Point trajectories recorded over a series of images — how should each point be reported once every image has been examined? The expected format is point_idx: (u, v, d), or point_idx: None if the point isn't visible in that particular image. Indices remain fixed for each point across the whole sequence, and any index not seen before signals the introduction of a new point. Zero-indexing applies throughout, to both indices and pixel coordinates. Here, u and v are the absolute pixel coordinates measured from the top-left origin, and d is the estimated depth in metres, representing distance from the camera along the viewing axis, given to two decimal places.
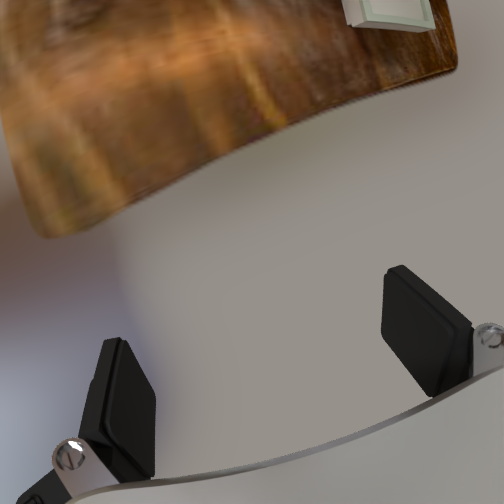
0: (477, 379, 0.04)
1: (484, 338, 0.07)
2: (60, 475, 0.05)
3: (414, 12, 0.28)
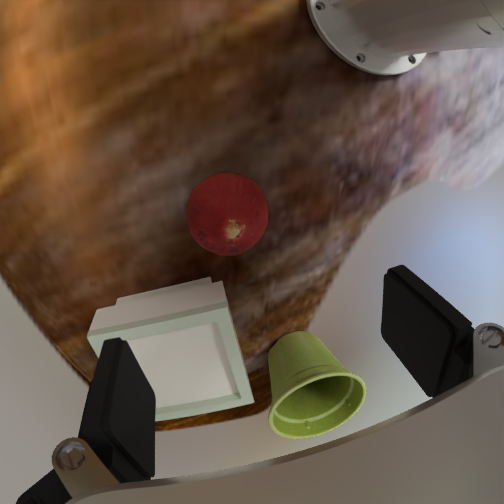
0: (477, 379, 0.04)
1: (484, 338, 0.07)
2: (60, 475, 0.05)
3: None
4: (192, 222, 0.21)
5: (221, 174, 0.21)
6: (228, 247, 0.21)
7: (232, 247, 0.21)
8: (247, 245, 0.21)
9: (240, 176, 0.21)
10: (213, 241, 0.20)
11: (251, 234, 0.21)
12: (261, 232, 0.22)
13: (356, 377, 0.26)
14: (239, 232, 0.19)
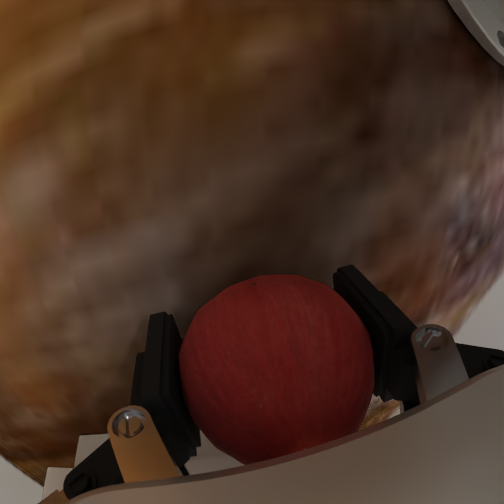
0: (477, 379, 0.04)
1: (424, 342, 0.07)
2: (119, 443, 0.06)
3: None
4: (198, 419, 0.07)
5: (269, 293, 0.08)
6: None
7: None
8: None
9: (319, 298, 0.08)
10: None
11: None
12: None
13: None
14: None
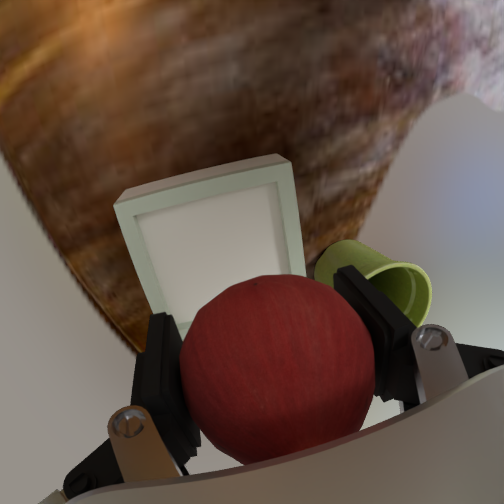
0: (477, 379, 0.04)
1: (424, 342, 0.07)
2: (119, 443, 0.06)
3: (184, 304, 0.23)
4: (199, 420, 0.07)
5: (270, 294, 0.08)
6: None
7: None
8: None
9: (320, 298, 0.08)
10: None
11: None
12: None
13: (424, 273, 0.22)
14: None
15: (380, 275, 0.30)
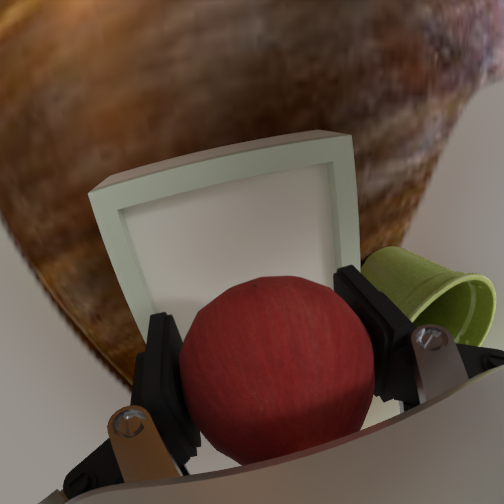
0: (477, 379, 0.04)
1: (424, 341, 0.07)
2: (119, 443, 0.06)
3: None
4: (198, 421, 0.07)
5: (269, 295, 0.08)
6: None
7: None
8: None
9: (320, 300, 0.08)
10: None
11: None
12: None
13: (492, 287, 0.16)
14: None
15: None
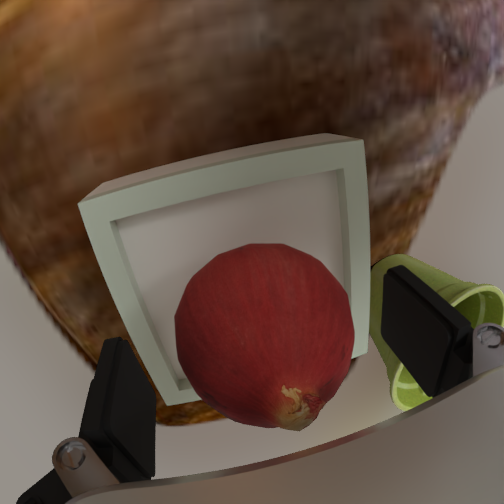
0: (477, 379, 0.04)
1: (484, 338, 0.07)
2: (60, 475, 0.05)
3: None
4: (188, 369, 0.09)
5: (252, 252, 0.09)
6: (275, 427, 0.08)
7: None
8: None
9: (297, 257, 0.09)
10: (239, 417, 0.08)
11: (328, 398, 0.08)
12: None
13: (503, 297, 0.15)
14: (311, 422, 0.07)
15: None
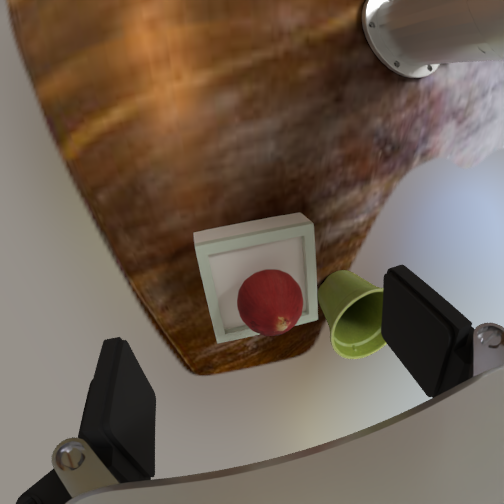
0: (477, 379, 0.04)
1: (484, 338, 0.07)
2: (60, 475, 0.05)
3: (233, 315, 0.33)
4: (246, 313, 0.27)
5: (268, 274, 0.27)
6: (274, 333, 0.26)
7: (277, 334, 0.26)
8: (287, 330, 0.27)
9: (283, 276, 0.27)
10: (263, 329, 0.26)
11: (292, 324, 0.26)
12: None
13: None
14: (286, 327, 0.25)
15: (366, 296, 0.41)
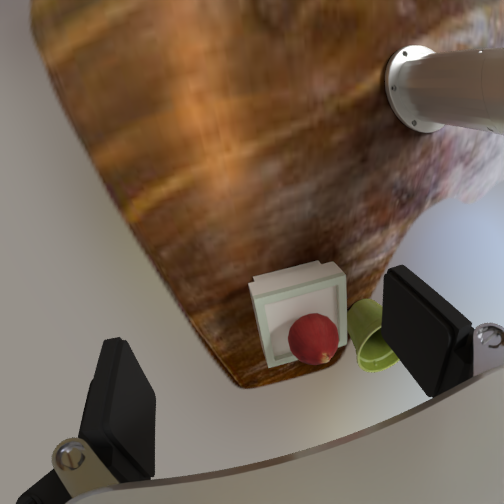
0: (477, 379, 0.04)
1: (484, 338, 0.07)
2: (60, 475, 0.05)
3: (281, 345, 0.40)
4: (297, 350, 0.34)
5: (313, 319, 0.34)
6: (318, 364, 0.33)
7: (320, 363, 0.34)
8: None
9: (324, 320, 0.34)
10: (310, 361, 0.33)
11: (331, 356, 0.34)
12: (335, 351, 0.35)
13: None
14: (328, 361, 0.32)
15: None
